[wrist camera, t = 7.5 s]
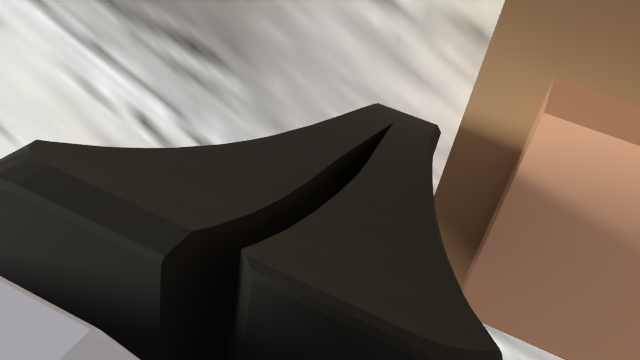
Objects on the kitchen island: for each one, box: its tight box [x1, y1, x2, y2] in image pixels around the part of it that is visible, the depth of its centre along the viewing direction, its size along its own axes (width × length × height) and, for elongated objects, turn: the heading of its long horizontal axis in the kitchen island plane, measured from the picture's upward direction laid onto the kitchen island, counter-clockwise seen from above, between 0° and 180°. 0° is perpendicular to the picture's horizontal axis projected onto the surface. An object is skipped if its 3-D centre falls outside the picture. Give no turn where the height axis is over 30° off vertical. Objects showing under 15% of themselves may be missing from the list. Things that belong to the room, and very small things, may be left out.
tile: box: [462, 78, 640, 360], centre depth 10 cm, size 4×4×2 cm
